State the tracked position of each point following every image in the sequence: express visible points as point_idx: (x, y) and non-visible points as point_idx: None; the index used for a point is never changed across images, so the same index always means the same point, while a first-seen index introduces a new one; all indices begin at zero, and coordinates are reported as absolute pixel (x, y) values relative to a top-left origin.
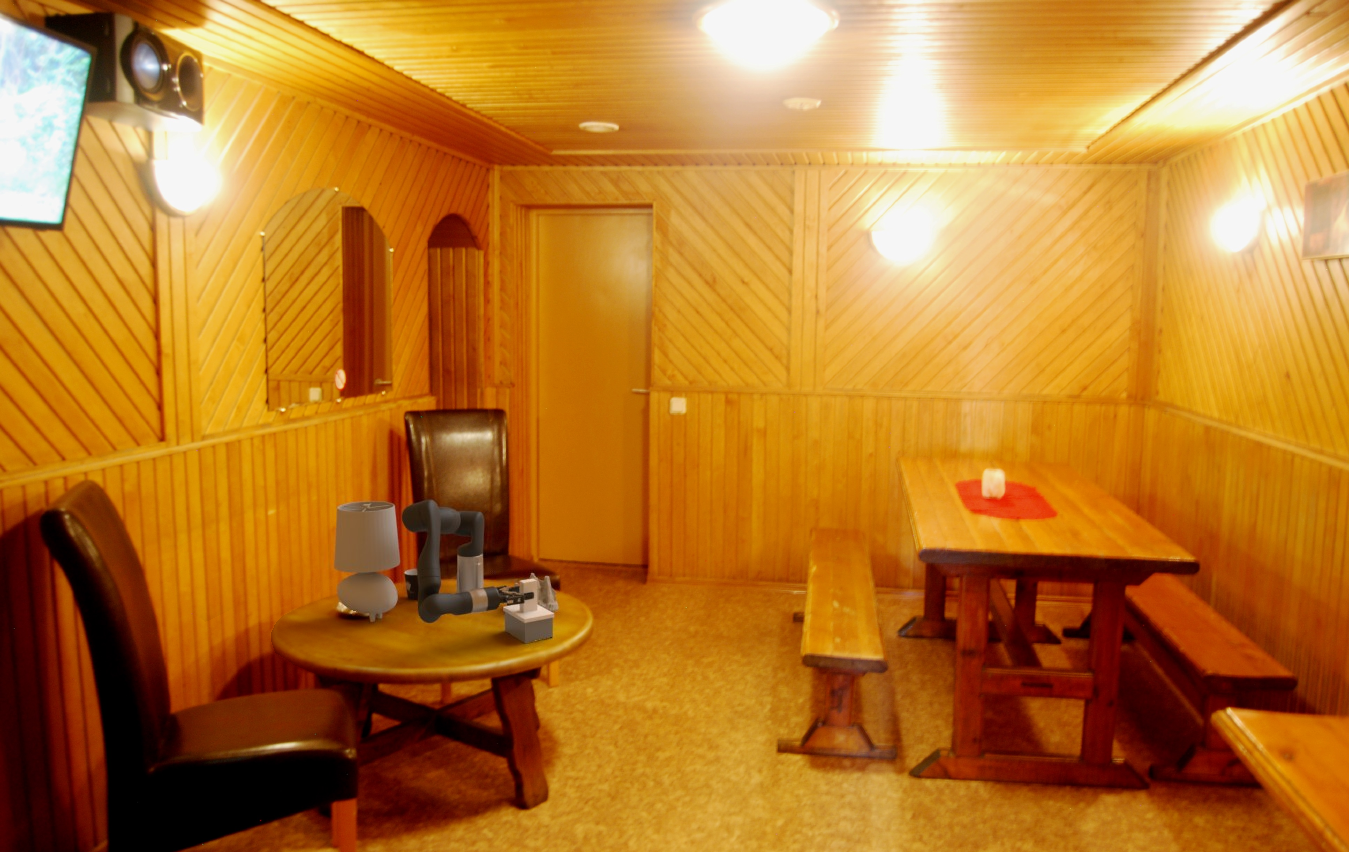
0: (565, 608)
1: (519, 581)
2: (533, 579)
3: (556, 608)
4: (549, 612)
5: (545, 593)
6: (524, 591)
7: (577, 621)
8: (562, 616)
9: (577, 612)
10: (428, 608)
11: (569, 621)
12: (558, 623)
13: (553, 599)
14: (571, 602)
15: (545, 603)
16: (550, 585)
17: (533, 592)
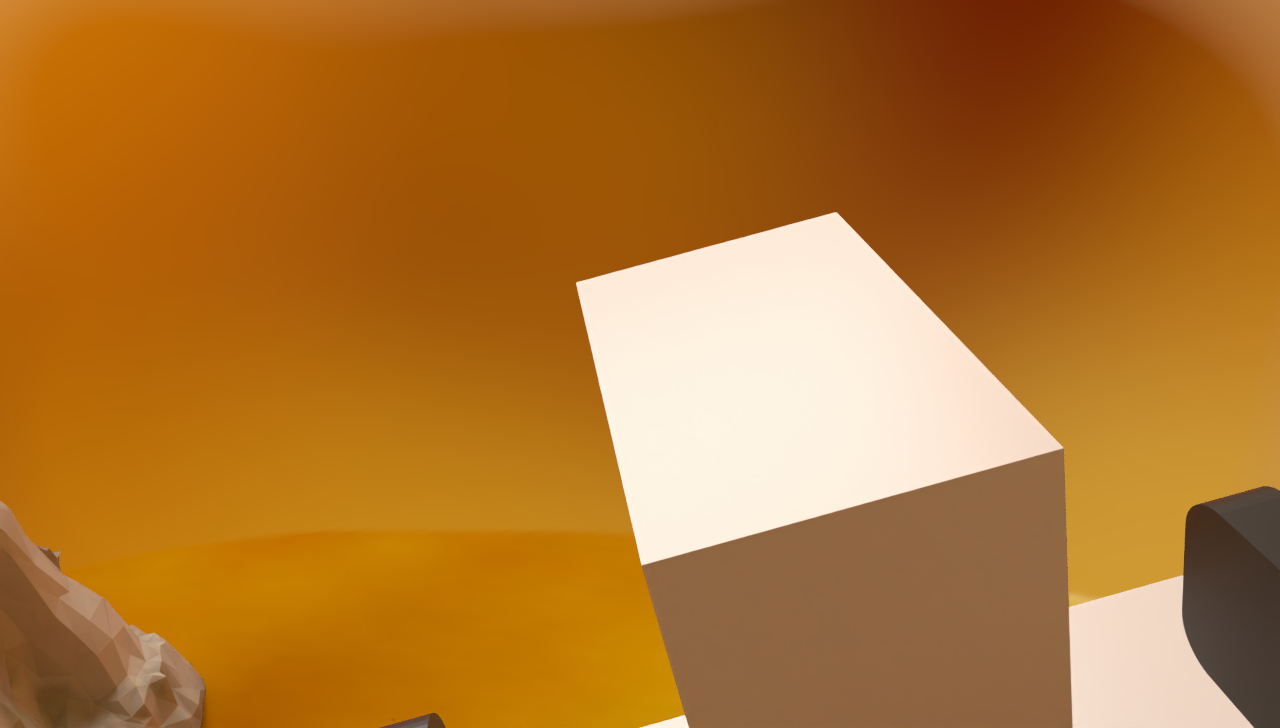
0: (221, 610)
1: (650, 591)
2: (683, 270)
3: (190, 669)
4: (1116, 630)
5: (17, 631)
6: (1049, 711)
7: (627, 565)
8: (408, 658)
9: (390, 544)
10: None
11: (592, 621)
12: (600, 721)
13: (122, 619)
14: (128, 558)
15: (96, 717)
16: (11, 512)
17: (1270, 487)
